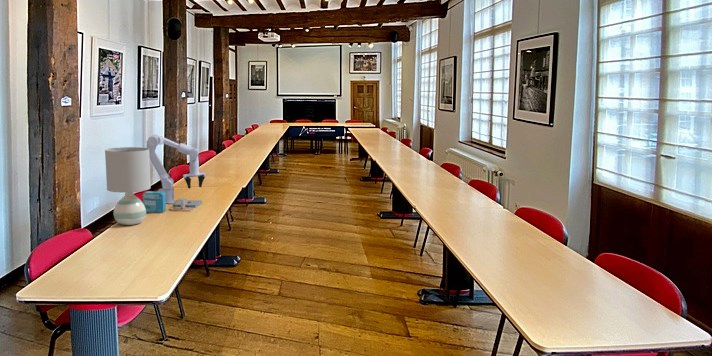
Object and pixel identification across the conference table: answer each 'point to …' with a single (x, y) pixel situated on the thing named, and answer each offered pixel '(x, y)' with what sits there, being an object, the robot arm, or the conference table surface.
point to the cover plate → (189, 203)
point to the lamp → (128, 181)
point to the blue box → (154, 202)
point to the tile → (182, 209)
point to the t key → (182, 202)
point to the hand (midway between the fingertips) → (194, 187)
